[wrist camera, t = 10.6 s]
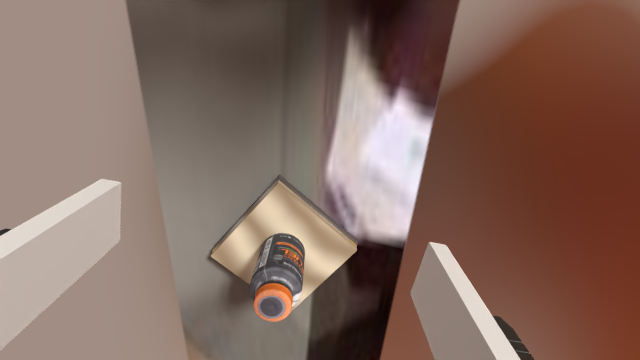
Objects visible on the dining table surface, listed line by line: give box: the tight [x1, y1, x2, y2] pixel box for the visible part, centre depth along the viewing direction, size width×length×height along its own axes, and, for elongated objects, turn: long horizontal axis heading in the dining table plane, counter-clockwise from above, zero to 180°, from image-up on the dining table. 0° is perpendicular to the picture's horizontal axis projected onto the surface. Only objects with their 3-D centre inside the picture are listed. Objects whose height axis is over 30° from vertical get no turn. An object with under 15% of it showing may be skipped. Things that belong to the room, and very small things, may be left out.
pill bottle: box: [250, 233, 305, 322], centre depth 41 cm, size 6×6×11 cm
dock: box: [211, 175, 358, 311], centre depth 48 cm, size 14×14×3 cm
